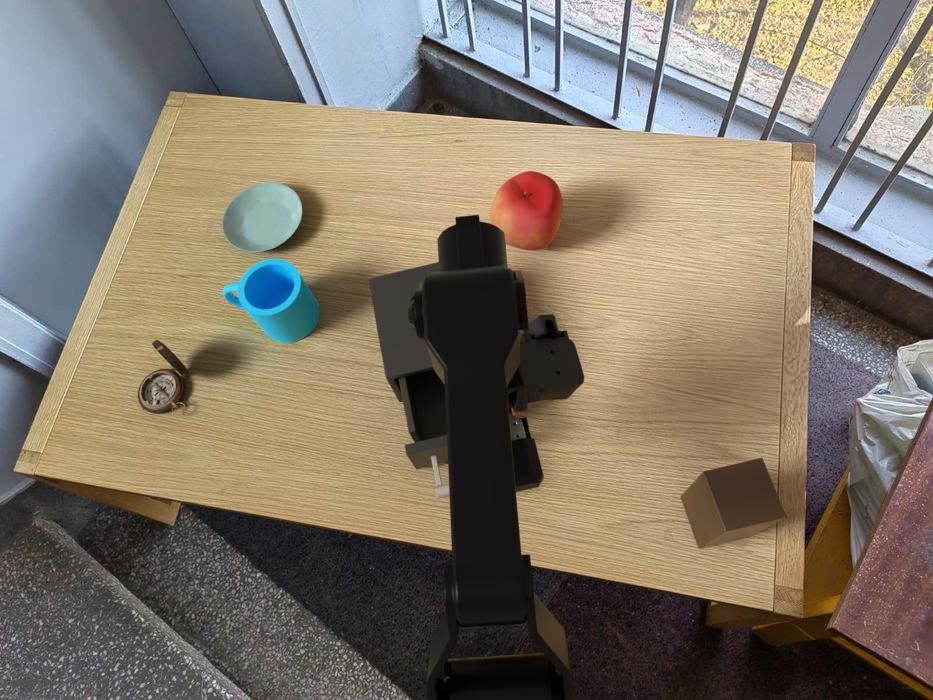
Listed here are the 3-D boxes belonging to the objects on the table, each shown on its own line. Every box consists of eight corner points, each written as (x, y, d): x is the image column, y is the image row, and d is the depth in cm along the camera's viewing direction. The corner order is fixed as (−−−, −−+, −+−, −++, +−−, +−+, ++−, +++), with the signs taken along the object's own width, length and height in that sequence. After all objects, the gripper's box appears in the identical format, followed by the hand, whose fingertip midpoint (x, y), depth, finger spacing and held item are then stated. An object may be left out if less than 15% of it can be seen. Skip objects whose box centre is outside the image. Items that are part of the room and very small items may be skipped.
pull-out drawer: (510, 489, 80) (508, 475, 73) (423, 509, 80) (414, 498, 73) (477, 356, 87) (473, 334, 81) (398, 375, 87) (387, 354, 81)
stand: (750, 536, 76) (786, 517, 65) (698, 548, 76) (725, 531, 65) (730, 484, 78) (762, 457, 67) (680, 496, 78) (703, 471, 67)
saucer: (226, 265, 97) (219, 256, 95) (229, 197, 102) (223, 188, 100) (307, 253, 97) (302, 245, 95) (306, 186, 101) (302, 176, 99)
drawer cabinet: (488, 381, 86) (483, 354, 78) (399, 402, 86) (385, 378, 78) (466, 290, 92) (459, 256, 84) (382, 310, 92) (367, 278, 84)
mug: (326, 292, 94) (308, 261, 86) (311, 346, 91) (290, 319, 83) (245, 283, 96) (221, 252, 88) (227, 335, 92) (200, 308, 85)
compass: (131, 396, 90) (99, 375, 84) (177, 353, 92) (149, 330, 85) (167, 433, 87) (137, 415, 81) (213, 389, 89) (188, 368, 83)
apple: (524, 195, 97) (523, 148, 88) (577, 230, 94) (581, 185, 85) (479, 239, 95) (473, 196, 86) (531, 277, 92) (531, 236, 83)
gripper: (609, 448, 52) (593, 490, 67) (549, 246, 60) (546, 323, 74) (467, 480, 52) (482, 515, 67) (425, 274, 60) (447, 345, 74)
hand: (492, 419), depth 70 cm, fingers closed on block, 4 cm apart
